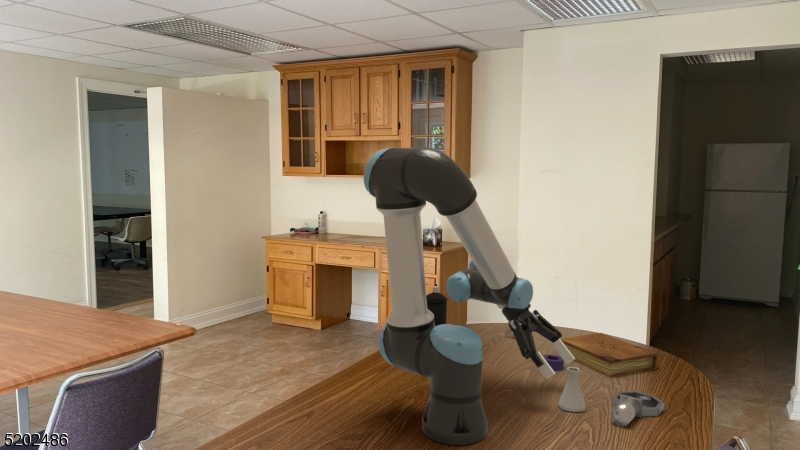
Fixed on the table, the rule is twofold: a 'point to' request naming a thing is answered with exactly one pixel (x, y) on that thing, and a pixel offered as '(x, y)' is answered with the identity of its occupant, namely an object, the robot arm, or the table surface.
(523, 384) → the table surface
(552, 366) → the lever
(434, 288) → the aerosol can
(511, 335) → the figurine
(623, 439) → the table surface
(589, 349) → the diary
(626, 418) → the octagonal metal scoop
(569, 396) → the flask
